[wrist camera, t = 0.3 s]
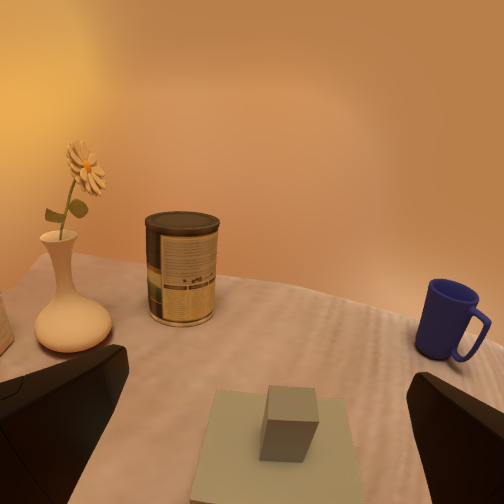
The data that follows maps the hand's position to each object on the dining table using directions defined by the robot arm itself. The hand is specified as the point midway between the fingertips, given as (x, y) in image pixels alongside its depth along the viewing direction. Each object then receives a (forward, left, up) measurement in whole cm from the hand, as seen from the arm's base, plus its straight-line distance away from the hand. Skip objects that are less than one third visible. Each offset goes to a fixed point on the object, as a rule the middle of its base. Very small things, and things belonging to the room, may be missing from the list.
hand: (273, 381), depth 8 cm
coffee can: (+33, +12, -17) cm, 39 cm away
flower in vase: (+22, +24, -17) cm, 37 cm away
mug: (+25, -27, -17) cm, 40 cm away
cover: (+6, -2, -17) cm, 18 cm away
